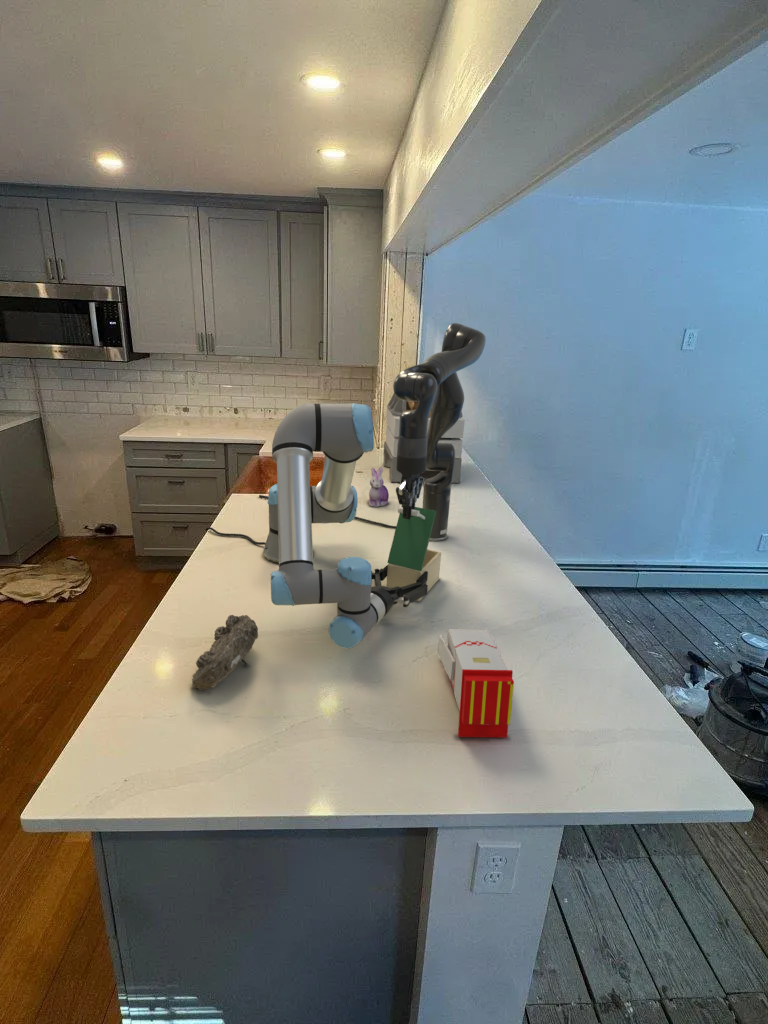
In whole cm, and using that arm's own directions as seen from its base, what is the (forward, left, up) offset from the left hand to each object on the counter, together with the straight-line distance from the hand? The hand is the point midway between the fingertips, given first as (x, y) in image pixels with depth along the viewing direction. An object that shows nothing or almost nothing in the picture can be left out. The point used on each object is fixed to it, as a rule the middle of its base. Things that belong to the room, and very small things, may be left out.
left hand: (408, 571), depth 157 cm
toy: (+29, -34, -6) cm, 45 cm away
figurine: (-40, +64, -6) cm, 76 cm away
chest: (0, +5, -6) cm, 8 cm away
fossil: (-21, -50, -6) cm, 55 cm away
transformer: (-43, +116, -6) cm, 124 cm away
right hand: (0, -2, +17) cm, 17 cm away
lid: (0, +1, +10) cm, 10 cm away
